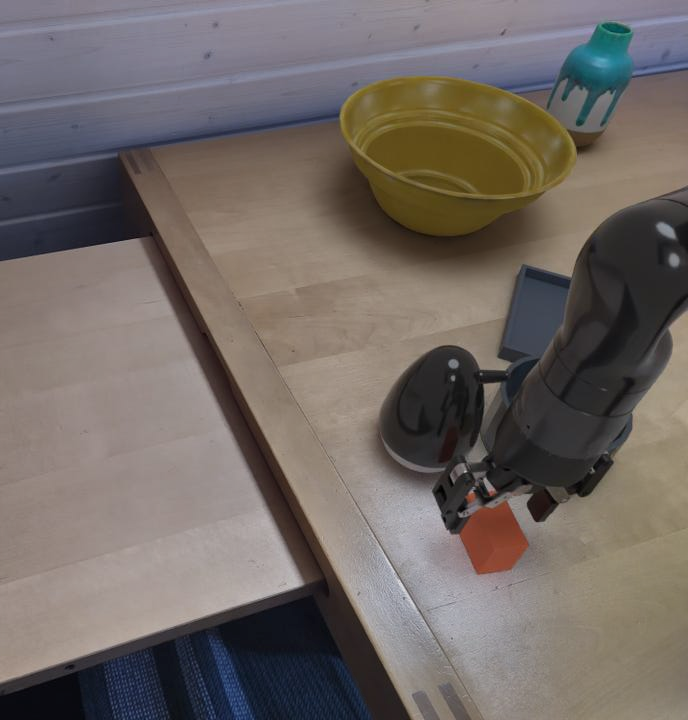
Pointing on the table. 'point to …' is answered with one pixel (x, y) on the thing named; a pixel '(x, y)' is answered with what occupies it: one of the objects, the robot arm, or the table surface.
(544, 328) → the tray
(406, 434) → the pump dispenser
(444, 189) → the planter bowl
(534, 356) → the crock
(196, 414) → the table surface
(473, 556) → the sponge
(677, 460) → the table surface
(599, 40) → the vase
